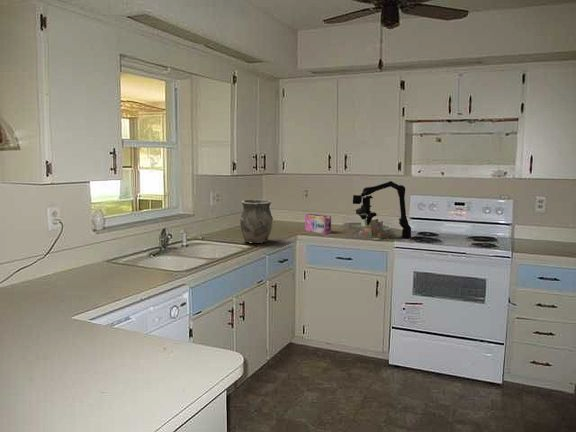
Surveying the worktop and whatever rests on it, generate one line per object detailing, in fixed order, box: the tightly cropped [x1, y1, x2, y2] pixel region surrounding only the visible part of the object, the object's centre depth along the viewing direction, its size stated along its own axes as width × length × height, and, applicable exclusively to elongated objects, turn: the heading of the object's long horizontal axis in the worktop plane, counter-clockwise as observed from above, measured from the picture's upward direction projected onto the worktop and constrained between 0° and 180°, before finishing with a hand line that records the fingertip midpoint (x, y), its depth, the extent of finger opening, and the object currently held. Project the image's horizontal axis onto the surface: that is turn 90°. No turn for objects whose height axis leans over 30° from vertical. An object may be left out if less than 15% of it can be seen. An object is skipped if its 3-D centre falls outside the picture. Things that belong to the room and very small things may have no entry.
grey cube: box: [382, 227, 392, 236], centre depth 370 cm, size 5×5×5 cm
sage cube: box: [360, 218, 371, 228], centre depth 360 cm, size 5×5×5 cm
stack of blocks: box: [363, 217, 384, 237], centre depth 377 cm, size 21×6×12 cm, turn 146°
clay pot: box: [239, 198, 274, 244], centre depth 338 cm, size 22×23×30 cm
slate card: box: [369, 237, 384, 242], centre depth 350 cm, size 7×7×1 cm
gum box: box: [304, 213, 332, 235], centre depth 384 cm, size 24×8×14 cm, turn 43°
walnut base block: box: [373, 231, 390, 239], centre depth 359 cm, size 8×8×4 cm
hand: (365, 224), depth 360 cm, fingers closed on sage cube, 5 cm apart
